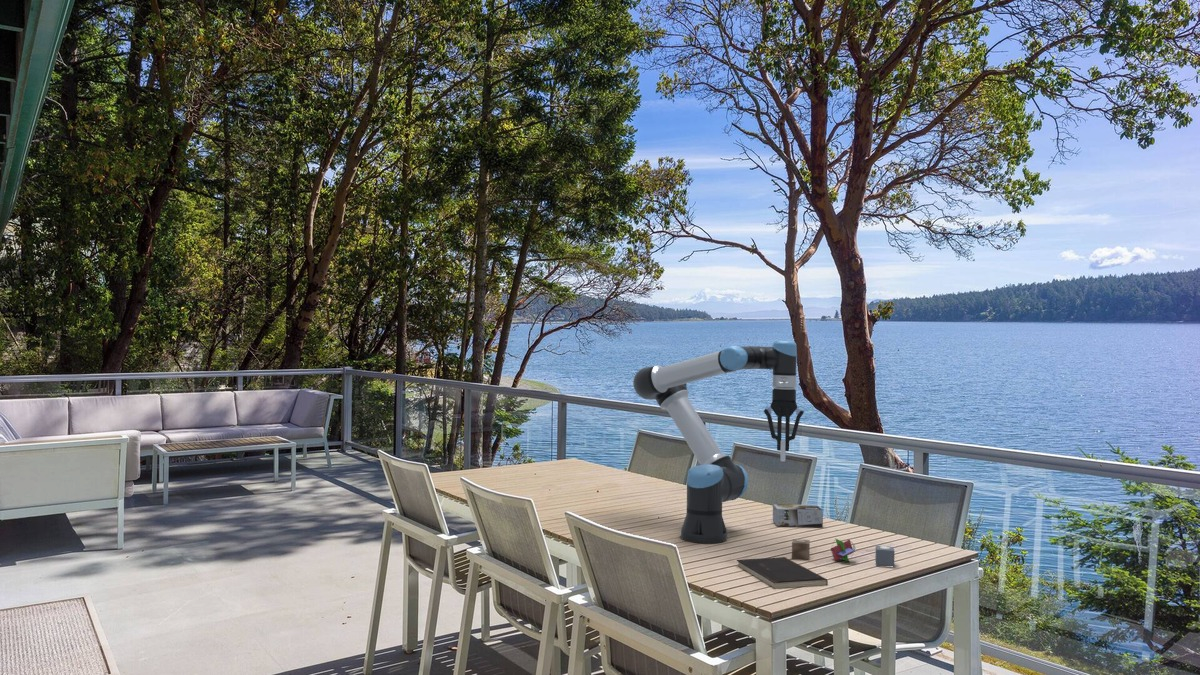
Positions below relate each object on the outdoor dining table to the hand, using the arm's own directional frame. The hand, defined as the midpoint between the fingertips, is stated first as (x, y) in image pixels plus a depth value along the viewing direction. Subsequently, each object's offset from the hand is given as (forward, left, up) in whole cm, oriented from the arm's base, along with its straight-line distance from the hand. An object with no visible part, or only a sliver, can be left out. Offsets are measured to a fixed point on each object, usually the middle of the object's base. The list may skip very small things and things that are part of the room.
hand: (782, 460), depth 276 cm
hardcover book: (-22, -33, -27) cm, 48 cm away
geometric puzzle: (+4, -26, -27) cm, 37 cm away
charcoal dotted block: (+14, -33, -27) cm, 45 cm away
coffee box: (+13, +24, -23) cm, 36 cm away
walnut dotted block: (-6, -19, -27) cm, 33 cm away
